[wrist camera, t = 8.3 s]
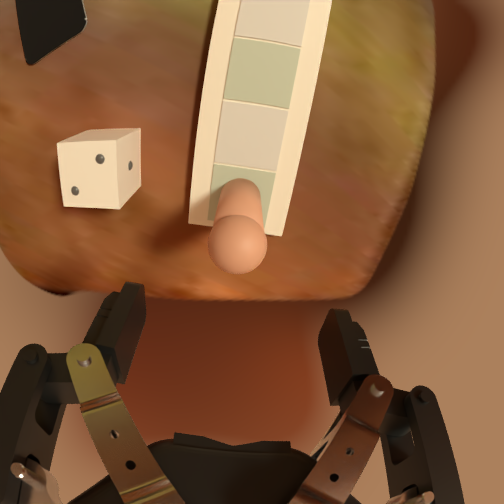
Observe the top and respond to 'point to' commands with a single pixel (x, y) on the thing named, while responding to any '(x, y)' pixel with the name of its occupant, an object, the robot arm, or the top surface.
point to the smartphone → (48, 25)
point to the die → (100, 167)
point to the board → (257, 102)
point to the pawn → (238, 228)
